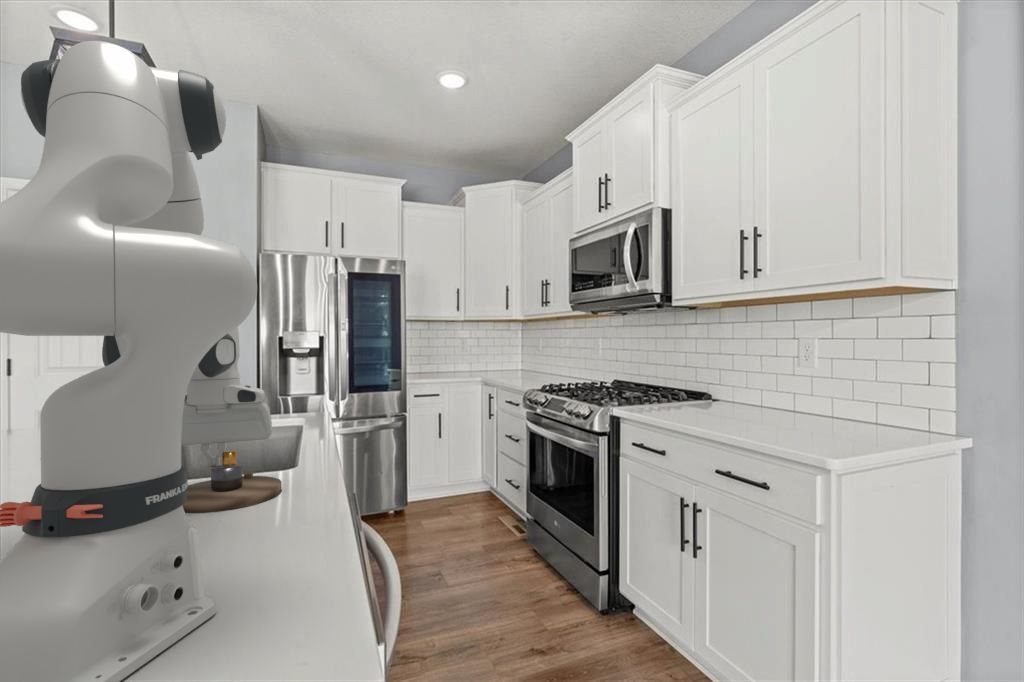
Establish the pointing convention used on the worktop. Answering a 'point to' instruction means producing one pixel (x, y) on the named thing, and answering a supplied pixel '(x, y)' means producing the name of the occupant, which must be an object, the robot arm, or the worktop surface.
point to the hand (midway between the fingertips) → (214, 466)
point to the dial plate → (231, 494)
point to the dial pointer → (227, 473)
